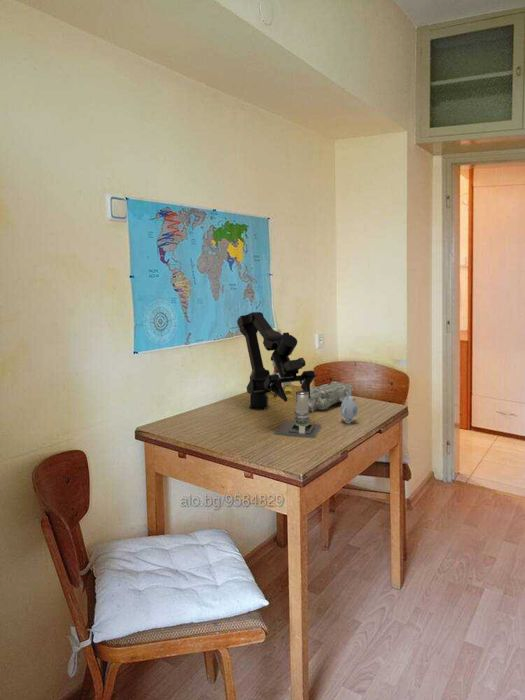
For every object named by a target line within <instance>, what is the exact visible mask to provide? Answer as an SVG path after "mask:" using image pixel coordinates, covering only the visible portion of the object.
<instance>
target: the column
mask: <svg viewBox="0 0 525 700" xmlns="http://www.w3.org/2000/svg"><path fill="white" fill-rule="evenodd" d="M308 398H309V392H308V391H303V390H297V391H295V410H294V419H293V420H294V422H295V426H296V429H298V430H299V426H300V425H303V426H306V430H308V426H309V424H310V423H309V421H310V417H309V415H310V411H309V410H308Z"/></svg>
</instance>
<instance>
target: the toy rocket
mask: <svg viewBox="0 0 525 700" xmlns="http://www.w3.org/2000/svg"><path fill="white" fill-rule="evenodd" d="M277 332H279V333H281V334H282V335H283V333H282V330H281V329H280V328H278V329H277ZM274 351H275V350H273V352H274ZM272 367H273V372H272V374H271V375H273V374H278V375H279V373H276V370H277V368H276V365H275V363H274V361H272ZM279 378H280V375H279ZM291 386H293V384H292V382H287V383H282V388H283V390H284V392H285V395H286V397H287V398H289V397H290V398H293V397H294V396H293V394H292V392H293V389H292V387H291ZM275 395H276V396H275ZM267 396H268V398H275V400H282V399H281V398H280V397H279V396H278V395H277V394H275V393H274V392H272V391H271V392H270V393H269V392H268V393H267Z"/></svg>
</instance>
